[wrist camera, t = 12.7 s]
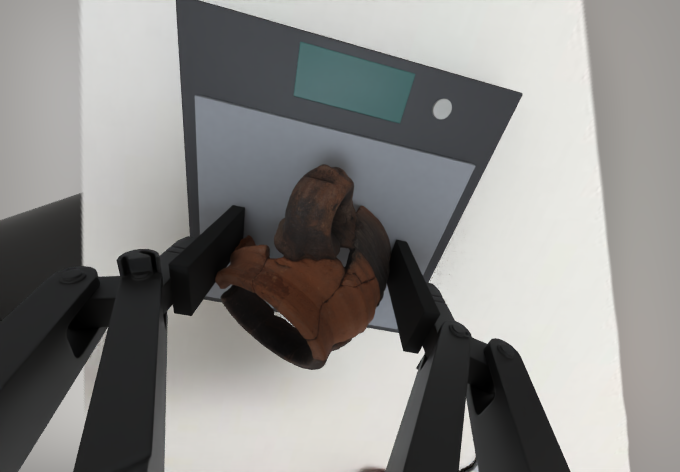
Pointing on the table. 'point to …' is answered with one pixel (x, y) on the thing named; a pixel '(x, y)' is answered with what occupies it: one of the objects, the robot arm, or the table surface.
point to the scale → (328, 131)
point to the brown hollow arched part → (311, 273)
